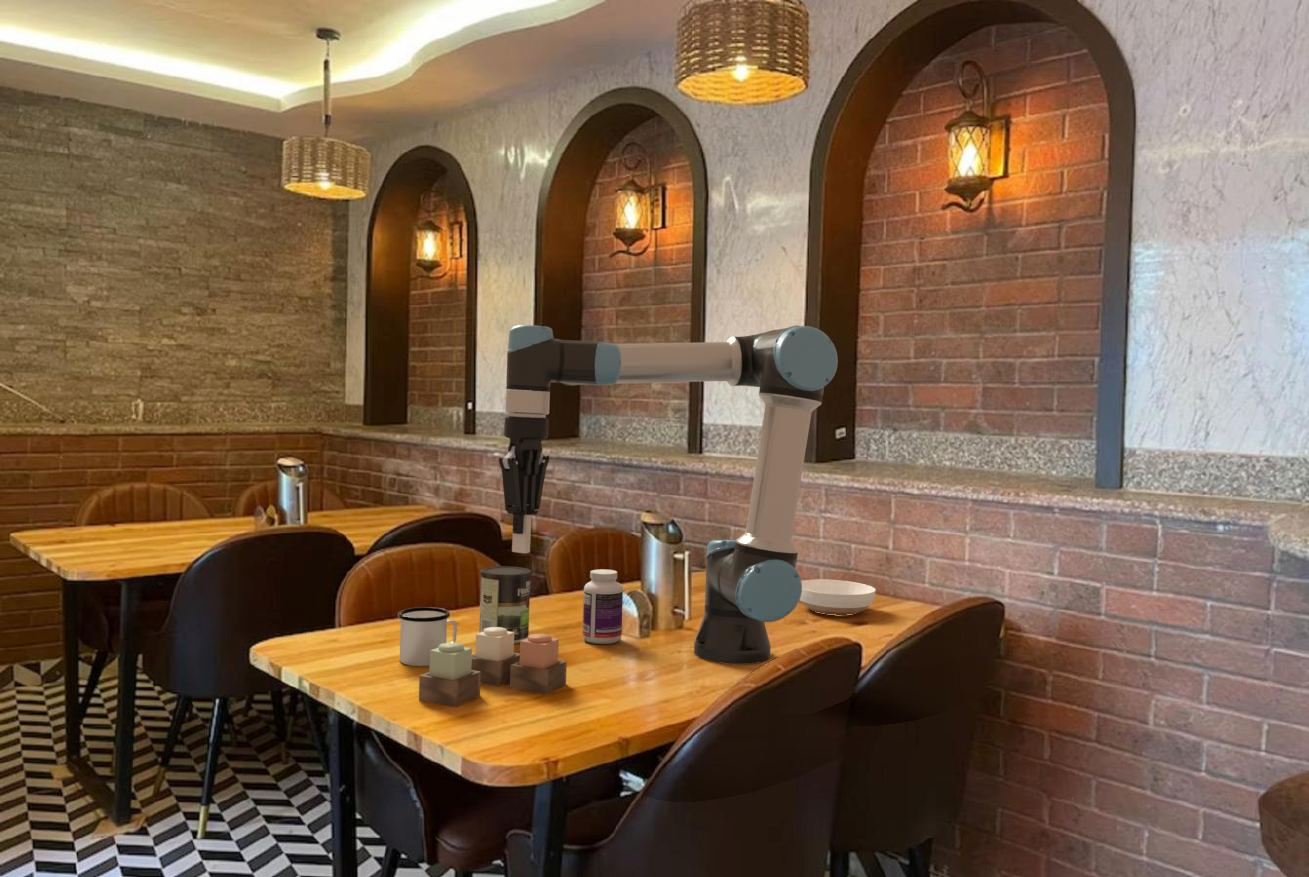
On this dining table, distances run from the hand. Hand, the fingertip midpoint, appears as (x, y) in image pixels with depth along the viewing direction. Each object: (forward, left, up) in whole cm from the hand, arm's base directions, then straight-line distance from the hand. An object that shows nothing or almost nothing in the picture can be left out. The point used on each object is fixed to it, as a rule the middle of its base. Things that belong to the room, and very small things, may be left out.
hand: (520, 551), depth 167 cm
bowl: (-34, -91, -23) cm, 100 cm away
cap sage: (+5, +13, -21) cm, 25 cm away
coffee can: (+19, -25, -23) cm, 39 cm away
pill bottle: (+1, -34, -23) cm, 41 cm away
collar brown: (-4, 0, -23) cm, 23 cm away
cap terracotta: (-4, 0, -21) cm, 21 cm away
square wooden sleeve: (+5, 0, -23) cm, 23 cm away
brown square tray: (+5, +13, -23) cm, 27 cm away
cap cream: (+5, 0, -21) cm, 21 cm away
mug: (+22, -4, -23) cm, 32 cm away
